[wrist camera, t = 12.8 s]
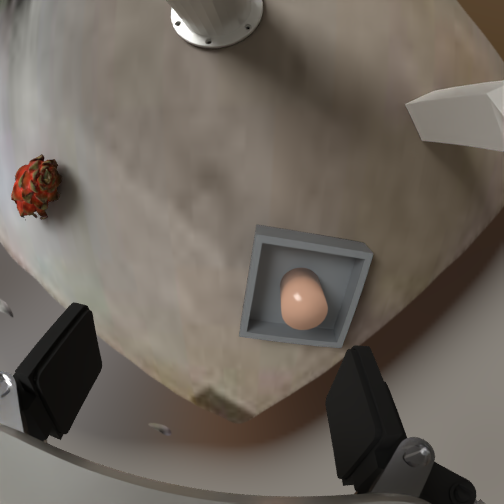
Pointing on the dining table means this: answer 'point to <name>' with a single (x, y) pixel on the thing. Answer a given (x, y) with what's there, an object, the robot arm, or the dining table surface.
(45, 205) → the dragon fruit
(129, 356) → the dining table surface
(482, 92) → the milk
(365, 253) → the bin
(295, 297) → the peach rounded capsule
